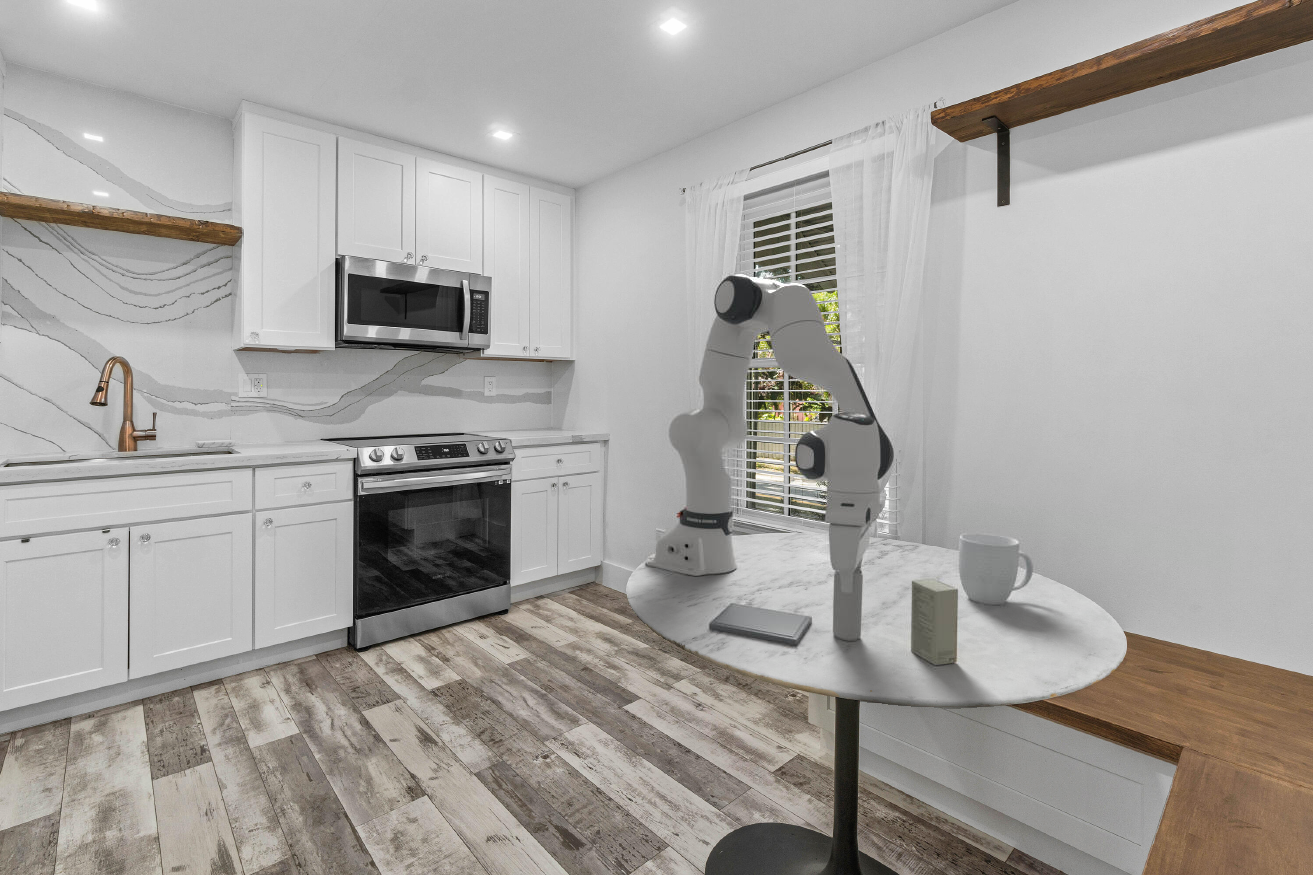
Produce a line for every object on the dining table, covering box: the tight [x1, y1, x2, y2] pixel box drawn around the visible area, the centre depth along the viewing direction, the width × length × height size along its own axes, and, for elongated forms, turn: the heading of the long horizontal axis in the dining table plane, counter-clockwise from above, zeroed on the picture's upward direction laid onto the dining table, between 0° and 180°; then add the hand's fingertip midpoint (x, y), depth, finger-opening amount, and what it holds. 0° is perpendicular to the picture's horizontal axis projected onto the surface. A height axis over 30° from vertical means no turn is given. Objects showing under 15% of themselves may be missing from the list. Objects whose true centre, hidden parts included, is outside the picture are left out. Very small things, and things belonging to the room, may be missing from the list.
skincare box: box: [910, 578, 959, 666], centre depth 100 cm, size 6×4×12 cm
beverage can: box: [832, 568, 864, 642], centre depth 108 cm, size 5×5×12 cm
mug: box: [958, 532, 1034, 606], centre depth 128 cm, size 15×11×13 cm
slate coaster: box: [708, 602, 813, 646], centre depth 113 cm, size 16×12×1 cm
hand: (851, 583), depth 108 cm, fingers open, 8 cm apart
